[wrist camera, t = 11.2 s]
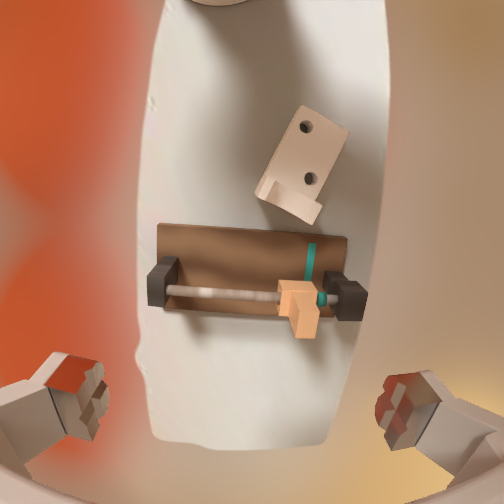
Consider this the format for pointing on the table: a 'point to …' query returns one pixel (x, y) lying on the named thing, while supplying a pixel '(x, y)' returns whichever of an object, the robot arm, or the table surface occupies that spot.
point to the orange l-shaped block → (299, 306)
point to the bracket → (302, 164)
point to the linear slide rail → (249, 270)
